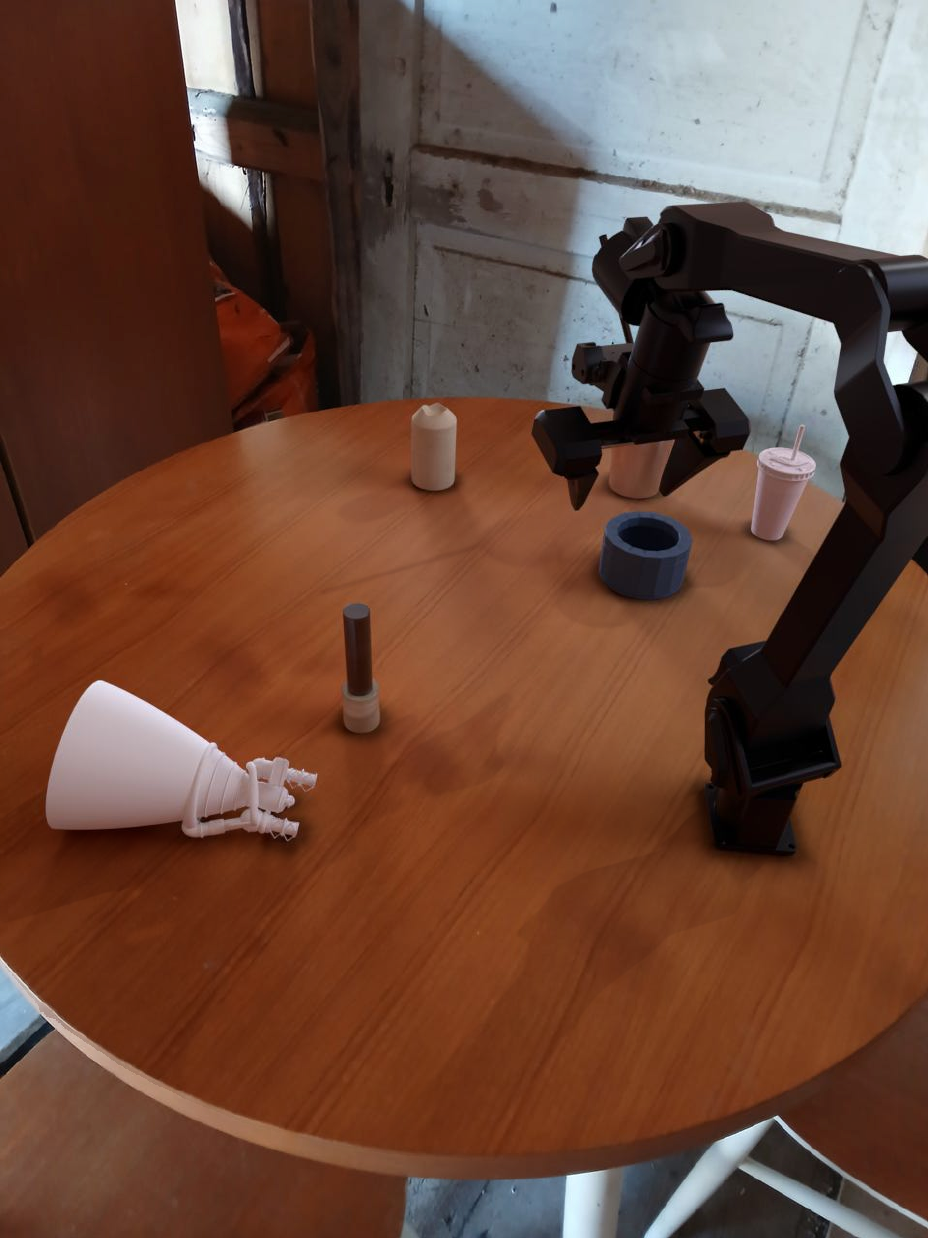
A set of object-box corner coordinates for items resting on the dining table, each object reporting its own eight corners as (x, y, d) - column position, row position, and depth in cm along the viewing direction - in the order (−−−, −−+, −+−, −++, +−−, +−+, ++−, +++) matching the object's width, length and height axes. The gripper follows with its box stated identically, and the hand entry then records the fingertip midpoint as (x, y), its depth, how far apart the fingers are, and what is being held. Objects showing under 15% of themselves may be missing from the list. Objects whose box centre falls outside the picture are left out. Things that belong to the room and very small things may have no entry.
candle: (405, 486, 114) (405, 413, 108) (419, 466, 118) (420, 395, 112) (447, 494, 113) (449, 420, 107) (460, 474, 117) (462, 402, 111)
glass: (569, 474, 118) (597, 233, 100) (641, 459, 122) (681, 224, 103) (613, 514, 110) (653, 262, 92) (689, 497, 114) (741, 251, 96)
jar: (687, 603, 97) (697, 560, 93) (601, 596, 97) (607, 554, 94) (677, 555, 104) (686, 514, 101) (597, 549, 104) (603, 508, 101)
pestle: (376, 735, 80) (372, 624, 72) (340, 732, 80) (333, 621, 72) (382, 709, 82) (378, 600, 75) (347, 707, 82) (340, 597, 75)
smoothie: (796, 550, 106) (830, 441, 97) (740, 542, 106) (769, 434, 98) (792, 521, 111) (824, 416, 102) (738, 514, 111) (766, 409, 103)
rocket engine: (327, 730, 66) (81, 672, 65) (285, 890, 64) (29, 833, 62) (328, 737, 78) (119, 687, 76) (293, 873, 75) (76, 824, 74)
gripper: (719, 294, 80) (668, 432, 92) (524, 312, 75) (497, 456, 87) (783, 370, 74) (720, 508, 86) (575, 396, 68) (539, 538, 80)
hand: (619, 500), depth 85 cm, fingers open, 9 cm apart
